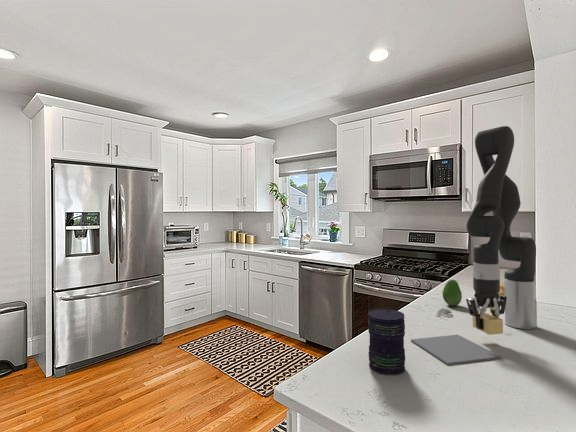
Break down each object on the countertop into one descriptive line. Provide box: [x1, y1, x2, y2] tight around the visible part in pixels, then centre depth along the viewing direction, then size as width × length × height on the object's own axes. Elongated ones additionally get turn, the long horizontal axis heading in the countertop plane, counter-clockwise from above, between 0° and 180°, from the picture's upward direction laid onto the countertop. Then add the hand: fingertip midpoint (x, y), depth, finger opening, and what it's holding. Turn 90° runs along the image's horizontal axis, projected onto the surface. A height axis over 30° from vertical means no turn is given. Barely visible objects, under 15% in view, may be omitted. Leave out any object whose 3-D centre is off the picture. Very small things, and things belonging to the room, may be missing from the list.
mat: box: [410, 334, 502, 366], centre depth 104 cm, size 18×18×1 cm
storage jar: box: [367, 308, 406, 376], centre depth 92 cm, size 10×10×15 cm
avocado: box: [442, 279, 463, 307], centre depth 151 cm, size 8×8×12 cm
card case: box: [472, 311, 504, 336], centre depth 108 cm, size 5×8×4 cm, turn 9°
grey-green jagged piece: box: [435, 307, 454, 319], centre depth 135 cm, size 20×8×1 cm, turn 135°
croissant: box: [498, 283, 505, 296], centre depth 166 cm, size 21×10×8 cm, turn 135°
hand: (487, 327), depth 108 cm, fingers closed on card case, 5 cm apart
